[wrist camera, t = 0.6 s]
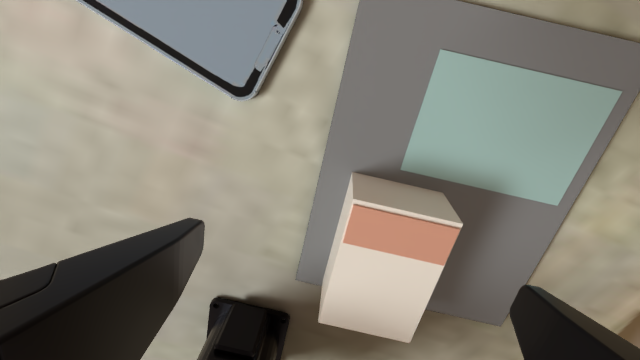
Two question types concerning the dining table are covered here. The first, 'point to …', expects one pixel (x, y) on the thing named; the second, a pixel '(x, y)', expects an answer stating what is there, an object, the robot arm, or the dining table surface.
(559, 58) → the mat
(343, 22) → the dining table surface
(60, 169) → the dining table surface
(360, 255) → the card box
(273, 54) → the smartphone
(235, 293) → the dining table surface
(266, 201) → the dining table surface
